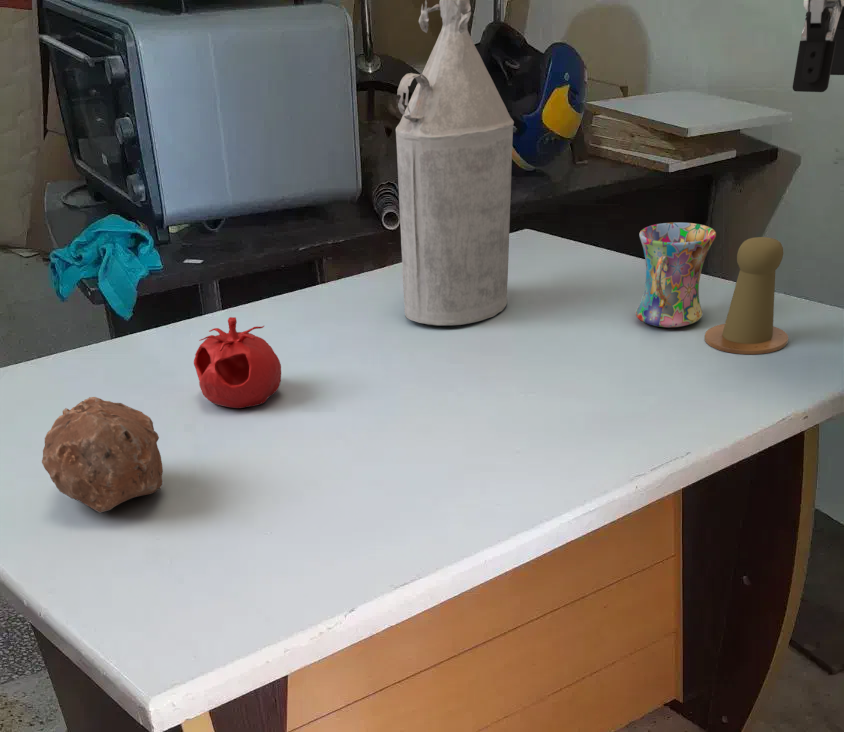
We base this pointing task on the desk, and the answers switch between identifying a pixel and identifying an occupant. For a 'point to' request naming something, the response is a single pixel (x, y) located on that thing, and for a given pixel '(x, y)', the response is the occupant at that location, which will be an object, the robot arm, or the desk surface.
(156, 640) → the desk surface
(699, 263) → the mug
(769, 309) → the pepper shaker
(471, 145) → the canister
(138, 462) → the decorative rock
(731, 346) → the coaster
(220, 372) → the hollow red tomato
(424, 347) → the desk surface
